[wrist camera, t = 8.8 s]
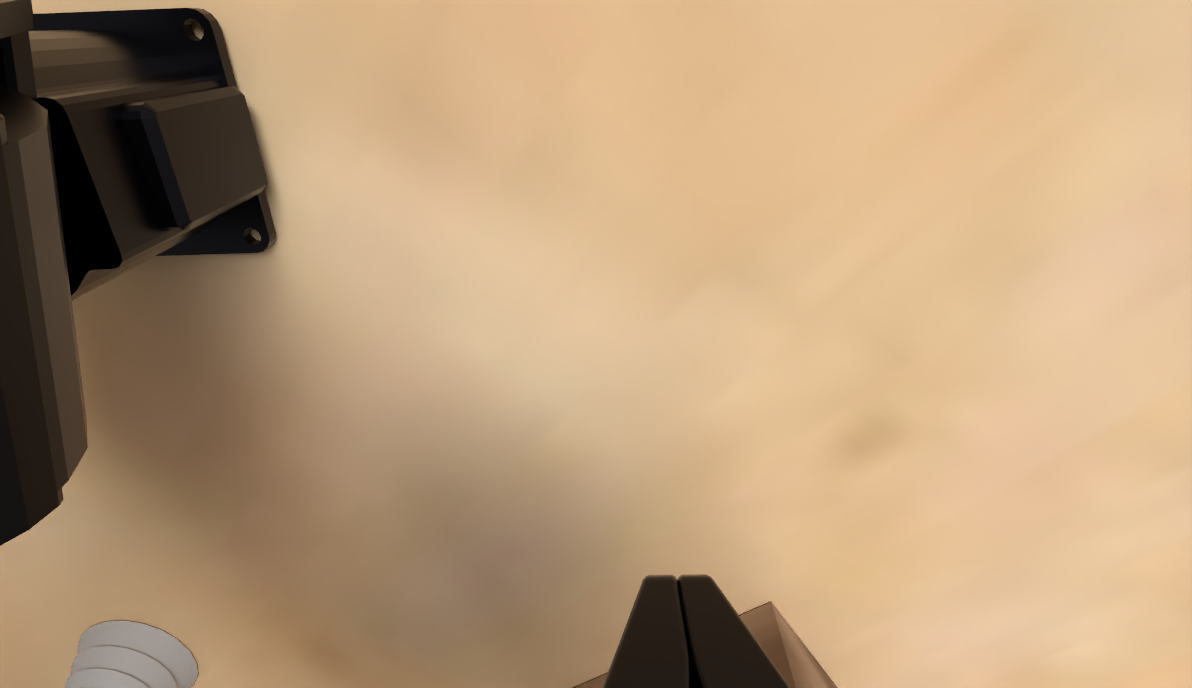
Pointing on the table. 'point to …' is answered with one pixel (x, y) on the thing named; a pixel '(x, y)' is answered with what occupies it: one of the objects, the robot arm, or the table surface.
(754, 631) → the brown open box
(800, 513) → the table surface
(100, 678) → the chalice
